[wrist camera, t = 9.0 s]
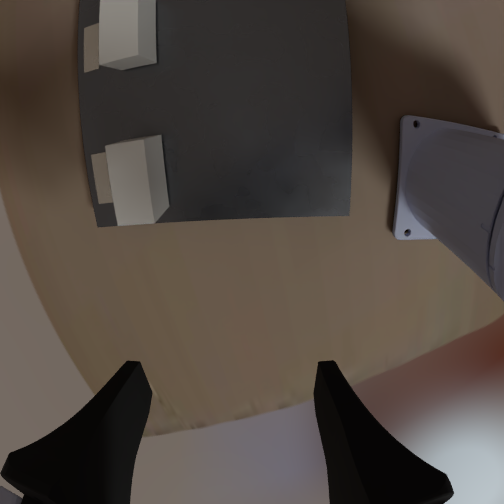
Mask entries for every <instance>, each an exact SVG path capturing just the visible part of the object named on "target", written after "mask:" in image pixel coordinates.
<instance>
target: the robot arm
mask: <svg viewBox="0 0 504 504" xmlns="http://www.w3.org/2000/svg"><path fill="white" fill-rule="evenodd" d="M415 120H416V121H417V127H416V128H415V127H414V125H413V122H414V121H415ZM493 136H494V137H493ZM407 229H408V230H409V231H408V233H407V234H404V232H405V230H407ZM392 233H393V236H394V237H395V238H396V239H398V240H412V239H438V240H439V241H441V242H442V243H443V244H444V245H445V246H446V247H447V248H449V249H450V250H451V251H452V252H453V253H454V254H455V255H456V256H458V257H459V258H460V259H461V260H462V261H463V262H464V263H465V264H466V265H467V266H468V267H470V268H471V269H472V270H473V271H474V272H475V273H476V274H477V275H478V276H479V277H480V278H481V279H482V280H483V281H484V282H485V283H486V284H487V285H488V286H489V287H490V288H491V289H492V290H493V291H494V292H495V293H497V295H498V296H499V297H500V298H501V299H502V300H503V301H504V134H501V133H497V132H493V131H490V130H485V129H481V128H477V127H473V126H468V125H463V124H459V123H454V122H448V121H443V120H437V119H431V118H425V117H418V116H412V115H404V116H403V117H402V118H401V121H400V150H399V168H398V182H397V194H396V204H395V214H394V222H393V230H392ZM151 398H152V390H151V388H150V385H149V383H148V380H147V378H146V375H145V373H144V370H143V368H142V365H141V363H140V362H138V361H126V362H125V364H124V365H123V366H122V367H121V368H120V369H119V370H118V371H117V372H116V373H115V375H114V376H113V377H112V378H111V379H110V380H109V381H108V382H107V383H106V384H105V386H104V387H103V388H102V389H101V390H100V391H99V392H98V393H97V394H96V395H95V396H94V397H93V398H92V399H91V400H90V401H89V402H88V403H87V404H86V405H85V406H84V407H83V408H82V409H81V410H80V411H79V412H78V413H76V414H75V415H74V416H73V417H72V418H70V419H69V420H68V421H67V422H65V423H64V424H63V425H62V426H60V427H58V428H57V429H55V430H54V431H52V432H51V433H50V434H48V435H46V436H45V437H43V438H41V439H39V440H38V441H36V442H34V443H32V444H30V445H28V446H26V447H24V448H21V449H18V450H16V451H14V452H11V453H9V455H8V458H7V460H6V462H5V464H4V466H3V468H2V471H1V473H0V474H1V476H2V477H3V478H4V479H5V480H6V481H7V482H8V483H10V484H11V485H12V486H14V487H15V488H16V489H18V490H19V491H20V492H22V493H23V494H24V496H23V499H22V498H21V497H19V496H18V495H16V494H14V493H12V492H11V491H9V490H7V489H5V488H4V487H2V486H0V504H130V495H131V484H132V477H133V470H134V464H135V459H136V455H137V451H138V448H139V444H140V441H141V438H142V435H143V431H144V428H145V425H146V422H147V418H148V415H149V410H150V405H151ZM314 403H315V412H316V418H317V423H318V427H319V432H320V436H321V441H322V445H323V450H324V454H325V459H326V465H327V474H328V485H329V499H330V504H444V503H445V502H447V501H448V500H449V499H450V498H451V497H452V496H453V494H454V491H453V488H452V485H451V483H450V481H449V479H448V477H447V475H446V474H445V473H443V472H441V471H440V470H438V469H436V468H434V467H433V466H431V465H429V464H428V463H426V462H424V461H423V460H422V459H420V458H419V457H417V456H416V455H415V454H413V453H412V452H411V451H409V450H408V449H407V448H406V447H405V446H403V445H402V444H401V443H399V442H398V441H397V440H396V439H395V438H394V437H393V436H392V435H391V434H390V433H389V432H388V431H387V430H386V429H385V428H384V427H382V425H381V424H380V423H379V422H378V421H377V420H376V419H375V418H374V417H373V415H372V414H371V413H370V412H369V411H368V409H367V408H366V407H365V406H364V404H363V403H362V402H361V400H360V399H359V398H358V397H357V395H356V394H355V392H354V391H353V389H352V388H351V386H350V385H349V383H348V382H347V380H346V379H345V377H344V376H343V374H342V372H341V371H340V369H339V367H338V366H337V364H336V362H335V361H334V360H332V361H320V362H318V367H317V374H316V381H315V387H314Z"/></svg>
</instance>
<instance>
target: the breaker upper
mask: <svg viewBox="0 0 504 504" xmlns="http://www.w3.org/2000/svg"><path fill="white" fill-rule="evenodd" d="M105 150H106V158H107V165H108V172H109V179H110V185H111V191H112V197H113V203H114V208H115V214H116V219H117V224H118V226H124V225H138V224H154V223H156V221H157V220H158V219H159V218H160V217H161V215H162V214H163V213H164V212H165V211H166V210H167V208H168V207H169V200H168V192H167V184H166V176H165V167H164V158H163V148H162V137H161V135H155V136H148V137H141V138H134V139H128V140H124V141H120V142H117V143H113V144H110V145H106V146H105Z"/></svg>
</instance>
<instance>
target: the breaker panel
mask: <svg viewBox="0 0 504 504" xmlns="http://www.w3.org/2000/svg"><path fill="white" fill-rule="evenodd" d="M99 13H100V0H80V5H79V21H78V85H79V103H80V116H81V127H82V136H83V145H84V152H85V160H86V167H87V173H88V179H89V185H90V191H91V197H92V202H93V207H94V212H95V217H96V222H97V226H98V227H108V226H118V224H117V219H116V214H115V208H114V203H113V197H112V191H111V185H110V179H109V172H108V165H107V158H106V150H105V146H106V145H110V144H113V143H117V142H120V141H124V140H128V139H134V138H141V137H148V136H155V135H161V137H162V148H163V158H164V167H165V176H166V184H167V192H168V200H169V207H168V208H167V210H166V211H165V212H164V213H163V214H162V215H161V217H160V218H159V219H158V220H157V221H156V223H166V222H183V221H201V220H222V219H245V218H273V217H308V216H349V212H350V194H351V170H352V86H351V63H350V47H349V34H348V23H347V13H346V3H345V0H156V60H157V63H154V64H149V65H144V66H139V67H134V68H130V69H125V70H119V69H115V68H110V67H106V66H102V65H99Z"/></svg>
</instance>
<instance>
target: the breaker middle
mask: <svg viewBox="0 0 504 504" xmlns="http://www.w3.org/2000/svg"><path fill="white" fill-rule="evenodd" d="M154 63H157V60H156V0H100V13H99V65H102V66H106V67H110V68H115V69H119V70H125V69H130V68H134V67H139V66H144V65H149V64H154Z"/></svg>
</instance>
